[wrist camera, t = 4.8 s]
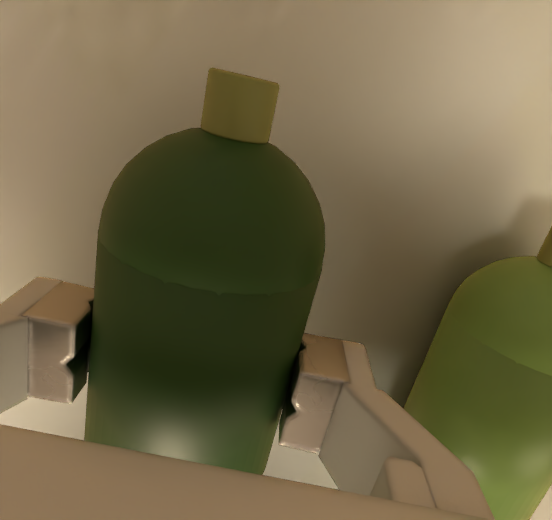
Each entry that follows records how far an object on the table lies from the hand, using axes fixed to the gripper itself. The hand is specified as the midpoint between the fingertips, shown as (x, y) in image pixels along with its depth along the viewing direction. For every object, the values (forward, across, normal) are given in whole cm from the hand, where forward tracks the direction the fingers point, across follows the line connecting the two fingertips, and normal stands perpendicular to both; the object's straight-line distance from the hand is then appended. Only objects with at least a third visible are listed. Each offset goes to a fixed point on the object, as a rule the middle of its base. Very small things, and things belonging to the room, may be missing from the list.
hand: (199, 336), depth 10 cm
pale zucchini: (+3, -8, +1) cm, 8 cm away
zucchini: (+2, 0, 0) cm, 2 cm away
